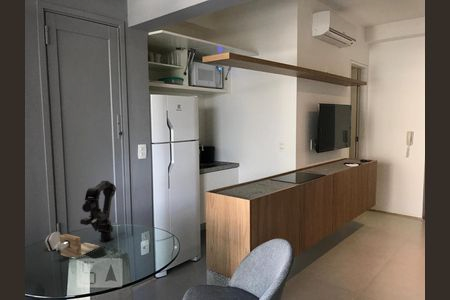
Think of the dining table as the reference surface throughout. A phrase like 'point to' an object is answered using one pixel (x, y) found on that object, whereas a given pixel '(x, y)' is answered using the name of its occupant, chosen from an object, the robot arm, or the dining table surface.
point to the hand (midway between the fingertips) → (96, 230)
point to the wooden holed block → (64, 245)
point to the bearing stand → (75, 246)
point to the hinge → (53, 241)
